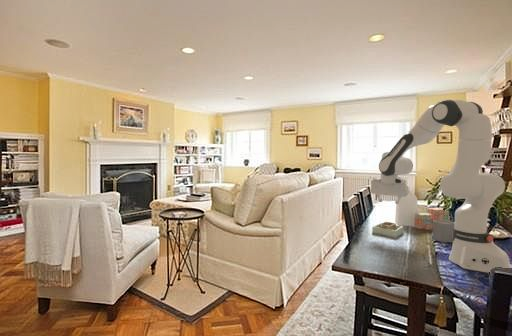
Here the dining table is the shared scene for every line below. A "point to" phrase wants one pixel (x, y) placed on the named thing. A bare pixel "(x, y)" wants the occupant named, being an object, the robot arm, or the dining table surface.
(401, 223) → the milk
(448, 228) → the coffee mug
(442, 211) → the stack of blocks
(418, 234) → the dining table surface
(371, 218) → the dining table surface
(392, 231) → the sage crate
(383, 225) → the pine crate
